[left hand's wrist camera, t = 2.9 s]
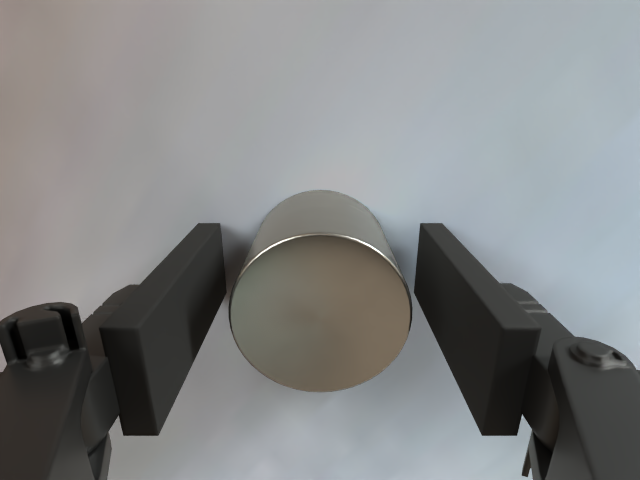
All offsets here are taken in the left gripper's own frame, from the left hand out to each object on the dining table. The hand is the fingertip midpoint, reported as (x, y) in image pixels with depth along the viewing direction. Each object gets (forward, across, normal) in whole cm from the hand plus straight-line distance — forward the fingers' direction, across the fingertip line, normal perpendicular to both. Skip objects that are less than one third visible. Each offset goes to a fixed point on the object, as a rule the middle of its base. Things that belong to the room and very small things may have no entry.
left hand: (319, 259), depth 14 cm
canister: (0, 0, 0) cm, 0 cm away
